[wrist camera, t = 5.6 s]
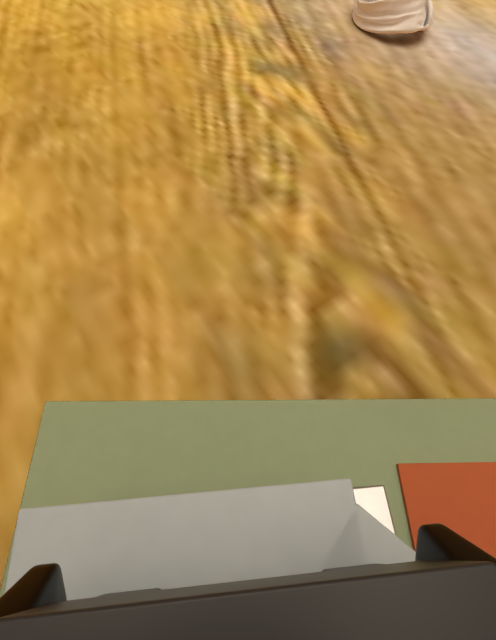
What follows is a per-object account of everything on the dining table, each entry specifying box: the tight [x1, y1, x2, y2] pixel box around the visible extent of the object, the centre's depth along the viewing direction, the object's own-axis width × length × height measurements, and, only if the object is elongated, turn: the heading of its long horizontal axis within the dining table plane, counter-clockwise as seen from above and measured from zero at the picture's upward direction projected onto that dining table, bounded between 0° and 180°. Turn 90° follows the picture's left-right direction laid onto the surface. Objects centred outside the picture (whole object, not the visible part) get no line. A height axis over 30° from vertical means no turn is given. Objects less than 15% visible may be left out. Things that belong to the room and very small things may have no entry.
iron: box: [0, 478, 496, 640], centre depth 9 cm, size 11×6×10 cm, turn 95°
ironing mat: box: [0, 399, 496, 597], centre depth 14 cm, size 28×15×1 cm, turn 91°
